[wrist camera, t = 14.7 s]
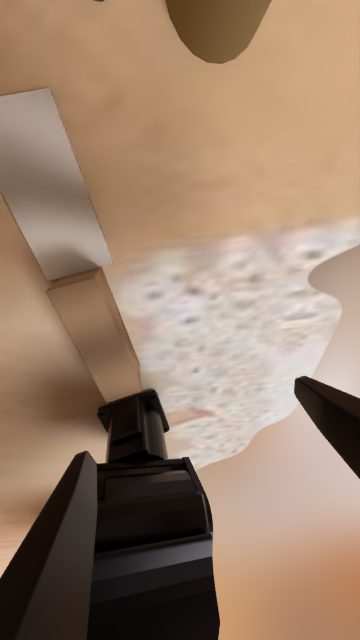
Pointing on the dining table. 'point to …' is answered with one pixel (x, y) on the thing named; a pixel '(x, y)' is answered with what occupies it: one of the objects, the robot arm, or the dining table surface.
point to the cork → (217, 26)
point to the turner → (64, 236)
